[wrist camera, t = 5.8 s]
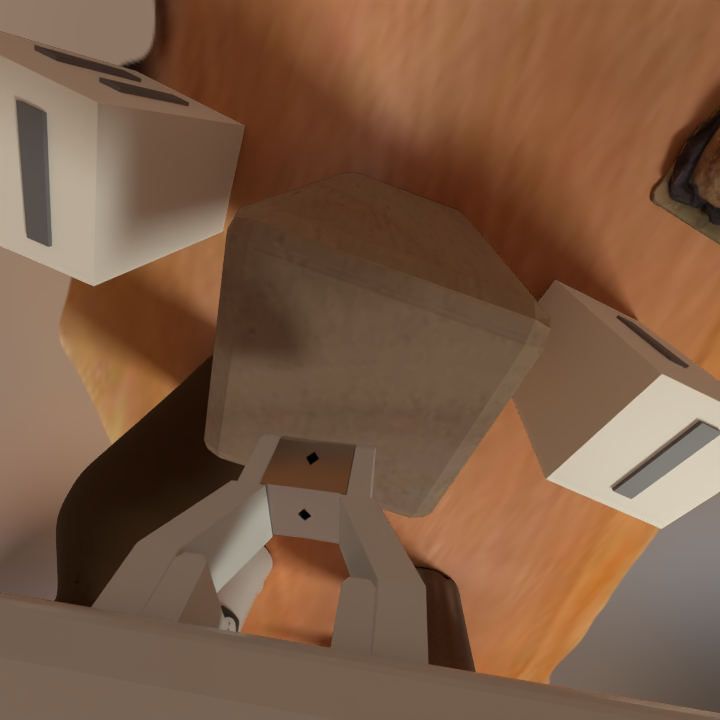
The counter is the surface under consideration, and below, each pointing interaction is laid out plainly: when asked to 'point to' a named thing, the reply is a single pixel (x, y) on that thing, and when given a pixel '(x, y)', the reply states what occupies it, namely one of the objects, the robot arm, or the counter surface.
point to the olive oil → (137, 489)
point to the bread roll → (695, 181)
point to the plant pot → (445, 623)
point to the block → (368, 333)
